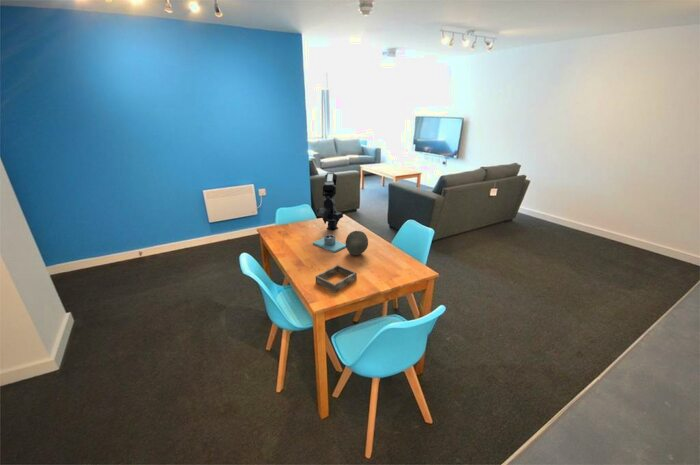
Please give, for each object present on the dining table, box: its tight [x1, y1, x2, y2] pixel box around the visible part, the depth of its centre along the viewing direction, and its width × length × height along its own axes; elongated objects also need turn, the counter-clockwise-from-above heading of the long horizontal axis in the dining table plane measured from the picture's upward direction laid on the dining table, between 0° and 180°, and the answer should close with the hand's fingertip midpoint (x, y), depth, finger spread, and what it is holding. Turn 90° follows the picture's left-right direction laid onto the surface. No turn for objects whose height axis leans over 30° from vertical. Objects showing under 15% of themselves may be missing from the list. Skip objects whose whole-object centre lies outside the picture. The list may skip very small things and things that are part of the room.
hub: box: [323, 234, 336, 246], centre depth 195 cm, size 7×7×5 cm
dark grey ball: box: [345, 230, 369, 256], centre depth 181 cm, size 14×14×15 cm
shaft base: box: [312, 237, 347, 253], centre depth 196 cm, size 12×20×5 cm, turn 49°
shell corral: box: [315, 264, 358, 293], centre depth 154 cm, size 16×14×4 cm
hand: (330, 225), depth 199 cm, fingers open, 9 cm apart
